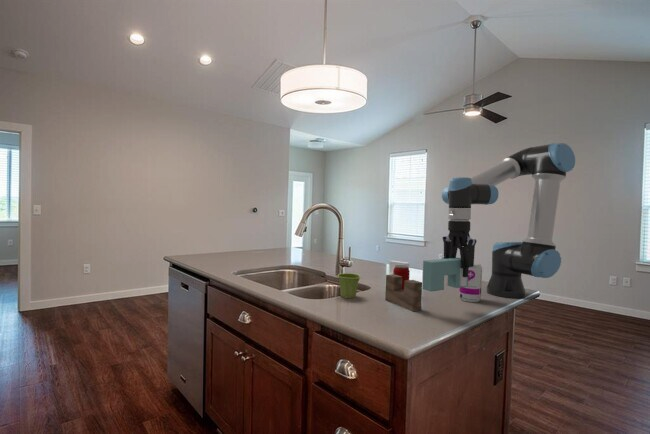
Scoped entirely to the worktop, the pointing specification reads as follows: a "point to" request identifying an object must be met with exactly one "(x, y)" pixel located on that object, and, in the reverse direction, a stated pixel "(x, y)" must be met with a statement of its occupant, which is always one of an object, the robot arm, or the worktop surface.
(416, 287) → the brown wooden notched block
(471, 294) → the supplement can
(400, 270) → the beverage can
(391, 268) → the cylinder with rectangular tab
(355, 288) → the plant pot
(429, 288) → the teal tunnel brick
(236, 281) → the worktop surface
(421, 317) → the worktop surface
